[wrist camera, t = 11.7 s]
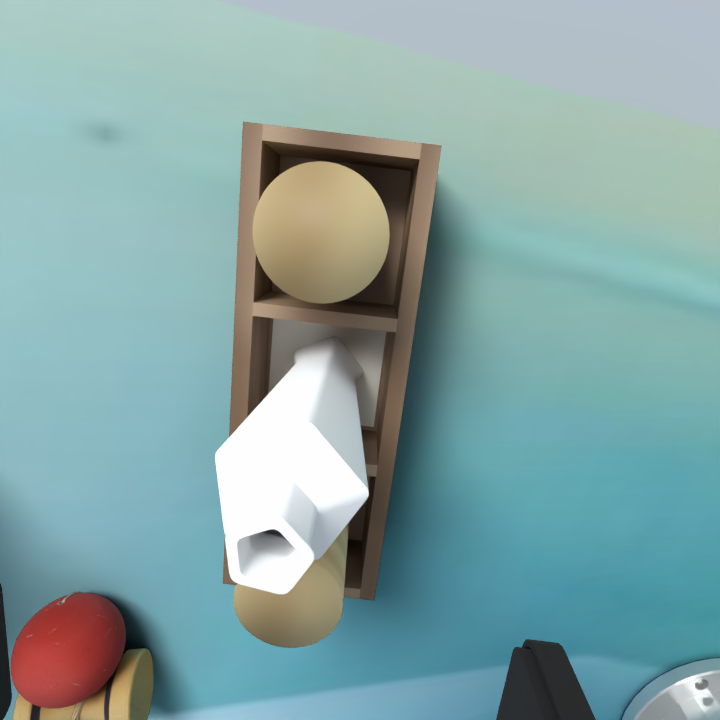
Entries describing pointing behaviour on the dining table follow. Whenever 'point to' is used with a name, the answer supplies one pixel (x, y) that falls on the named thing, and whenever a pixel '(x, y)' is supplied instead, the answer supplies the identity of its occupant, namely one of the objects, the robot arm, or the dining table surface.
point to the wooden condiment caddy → (329, 323)
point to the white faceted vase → (294, 470)
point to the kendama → (80, 664)
